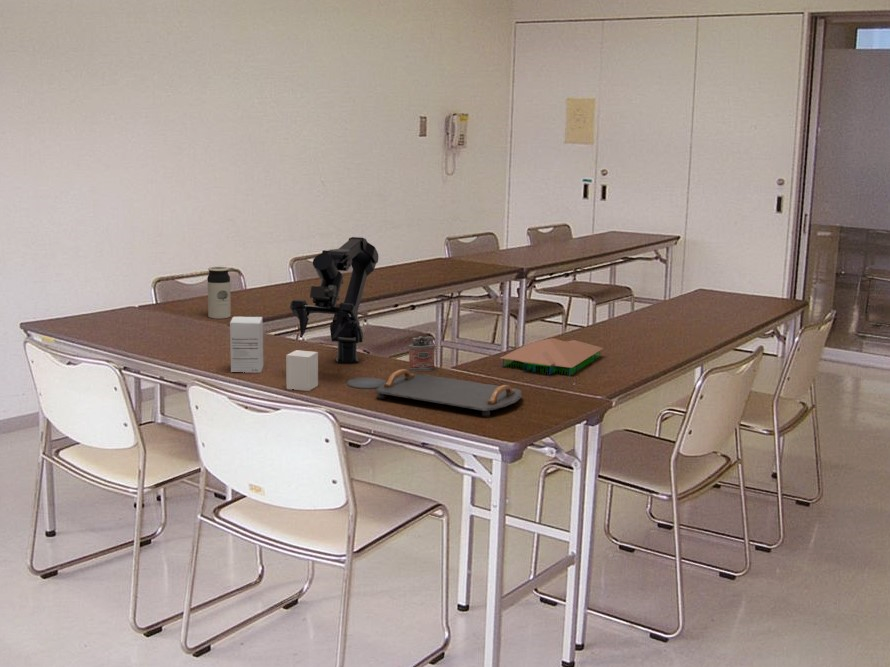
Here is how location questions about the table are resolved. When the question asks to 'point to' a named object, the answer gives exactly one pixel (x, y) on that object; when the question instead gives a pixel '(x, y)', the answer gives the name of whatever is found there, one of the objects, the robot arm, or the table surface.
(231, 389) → the table surface
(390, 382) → the serving board
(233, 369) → the supplement box
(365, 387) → the mat
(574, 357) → the house
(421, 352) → the lighter
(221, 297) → the travel mug
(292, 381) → the white upright block
